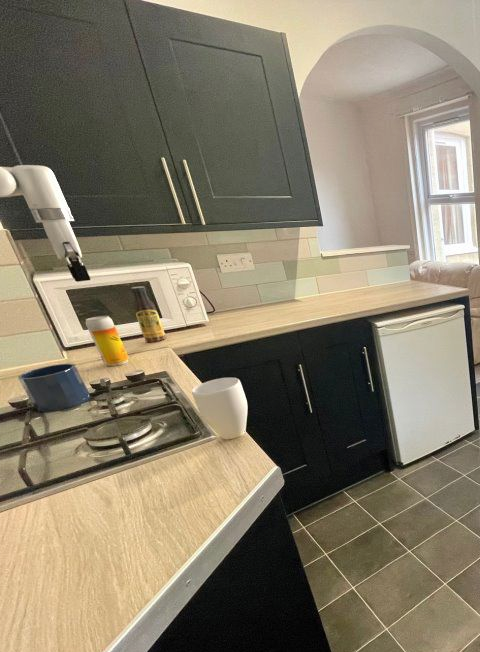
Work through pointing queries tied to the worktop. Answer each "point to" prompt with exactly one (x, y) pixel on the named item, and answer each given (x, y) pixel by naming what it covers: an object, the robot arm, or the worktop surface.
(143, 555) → the worktop surface
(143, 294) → the sauce bottle
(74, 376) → the crock
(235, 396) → the mug
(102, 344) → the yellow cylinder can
